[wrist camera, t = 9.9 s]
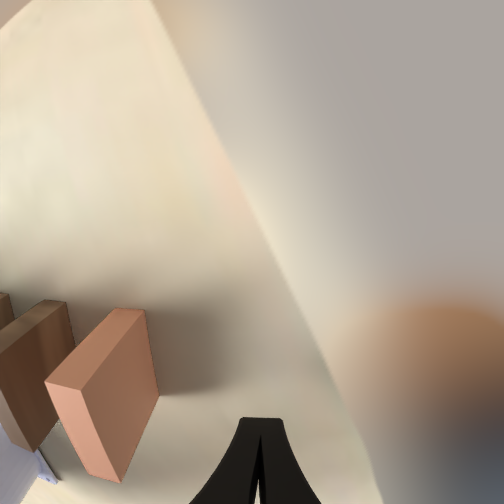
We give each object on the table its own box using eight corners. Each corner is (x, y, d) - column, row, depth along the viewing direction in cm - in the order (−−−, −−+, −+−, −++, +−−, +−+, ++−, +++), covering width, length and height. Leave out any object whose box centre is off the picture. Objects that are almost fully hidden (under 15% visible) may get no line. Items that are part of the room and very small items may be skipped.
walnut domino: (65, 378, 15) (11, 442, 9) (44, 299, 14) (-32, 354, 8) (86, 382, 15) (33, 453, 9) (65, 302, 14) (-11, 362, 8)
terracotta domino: (133, 392, 15) (88, 474, 9) (115, 307, 14) (43, 381, 8) (159, 395, 15) (120, 483, 9) (144, 310, 14) (80, 390, 8)
